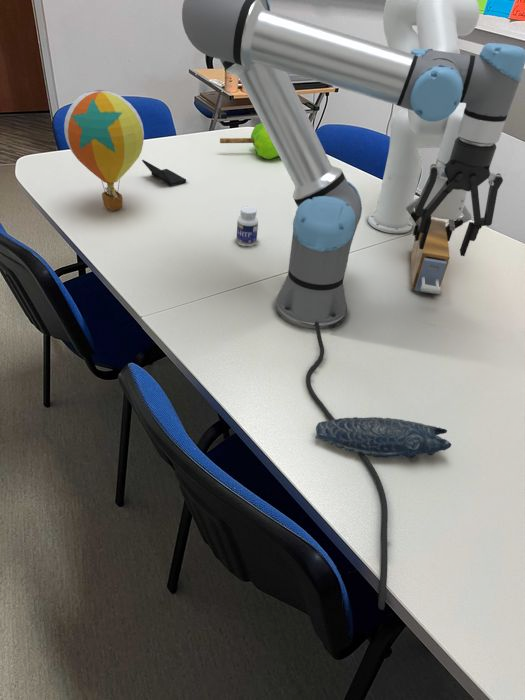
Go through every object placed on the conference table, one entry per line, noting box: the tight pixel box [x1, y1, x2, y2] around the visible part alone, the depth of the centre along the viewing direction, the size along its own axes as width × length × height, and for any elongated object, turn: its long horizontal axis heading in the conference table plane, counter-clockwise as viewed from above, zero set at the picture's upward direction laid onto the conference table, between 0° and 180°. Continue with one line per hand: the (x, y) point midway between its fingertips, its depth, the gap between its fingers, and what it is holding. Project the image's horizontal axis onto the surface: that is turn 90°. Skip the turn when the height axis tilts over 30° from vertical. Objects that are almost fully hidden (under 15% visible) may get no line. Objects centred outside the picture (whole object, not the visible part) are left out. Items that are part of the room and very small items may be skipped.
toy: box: [63, 89, 145, 212], centre depth 136 cm, size 20×20×30 cm
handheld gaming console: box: [141, 159, 187, 187], centre depth 162 cm, size 12×7×10 cm
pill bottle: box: [235, 206, 259, 247], centre depth 132 cm, size 5×5×9 cm
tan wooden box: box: [410, 218, 451, 291], centre depth 127 cm, size 20×6×10 cm, turn 168°
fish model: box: [315, 416, 452, 459], centre depth 82 cm, size 7×21×5 cm, turn 84°
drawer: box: [414, 256, 447, 295], centre depth 123 cm, size 24×5×8 cm, turn 168°
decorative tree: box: [219, 122, 280, 160], centre depth 186 cm, size 18×10×30 cm
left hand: (441, 249), depth 111 cm, fingers open, 8 cm apart
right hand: (430, 240), depth 129 cm, fingers closed on tan wooden box, 6 cm apart
